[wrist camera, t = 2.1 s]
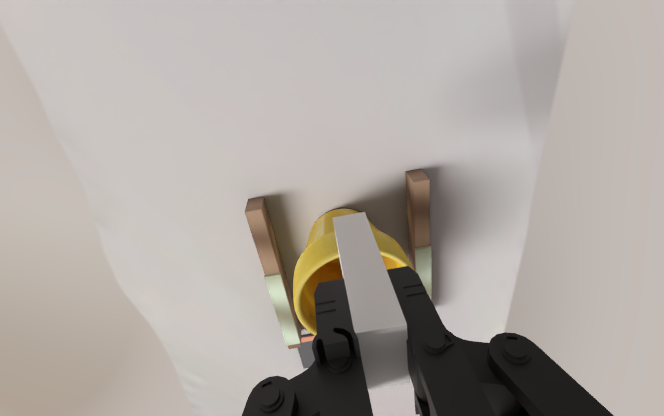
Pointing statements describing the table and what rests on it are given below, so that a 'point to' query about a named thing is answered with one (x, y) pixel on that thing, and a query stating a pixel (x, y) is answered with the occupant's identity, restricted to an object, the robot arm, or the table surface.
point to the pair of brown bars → (275, 271)
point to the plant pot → (331, 263)
